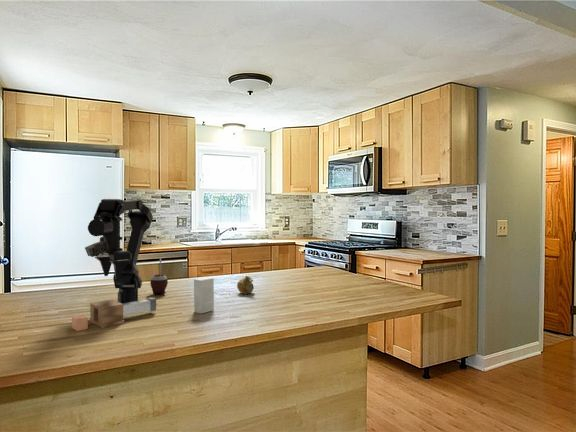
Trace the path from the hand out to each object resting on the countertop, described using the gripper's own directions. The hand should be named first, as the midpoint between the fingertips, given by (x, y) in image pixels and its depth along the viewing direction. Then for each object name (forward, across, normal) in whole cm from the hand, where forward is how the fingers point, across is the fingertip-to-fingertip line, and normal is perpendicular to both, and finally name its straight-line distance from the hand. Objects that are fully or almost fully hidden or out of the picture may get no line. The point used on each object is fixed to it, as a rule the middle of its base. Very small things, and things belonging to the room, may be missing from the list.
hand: (111, 277), depth 144 cm
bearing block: (+12, +11, -6) cm, 18 cm away
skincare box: (+13, +22, +24) cm, 35 cm away
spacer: (+11, +11, -13) cm, 20 cm away
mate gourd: (+13, -15, +27) cm, 33 cm away
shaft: (+11, +11, +1) cm, 16 cm away
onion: (+13, +11, +54) cm, 57 cm away
